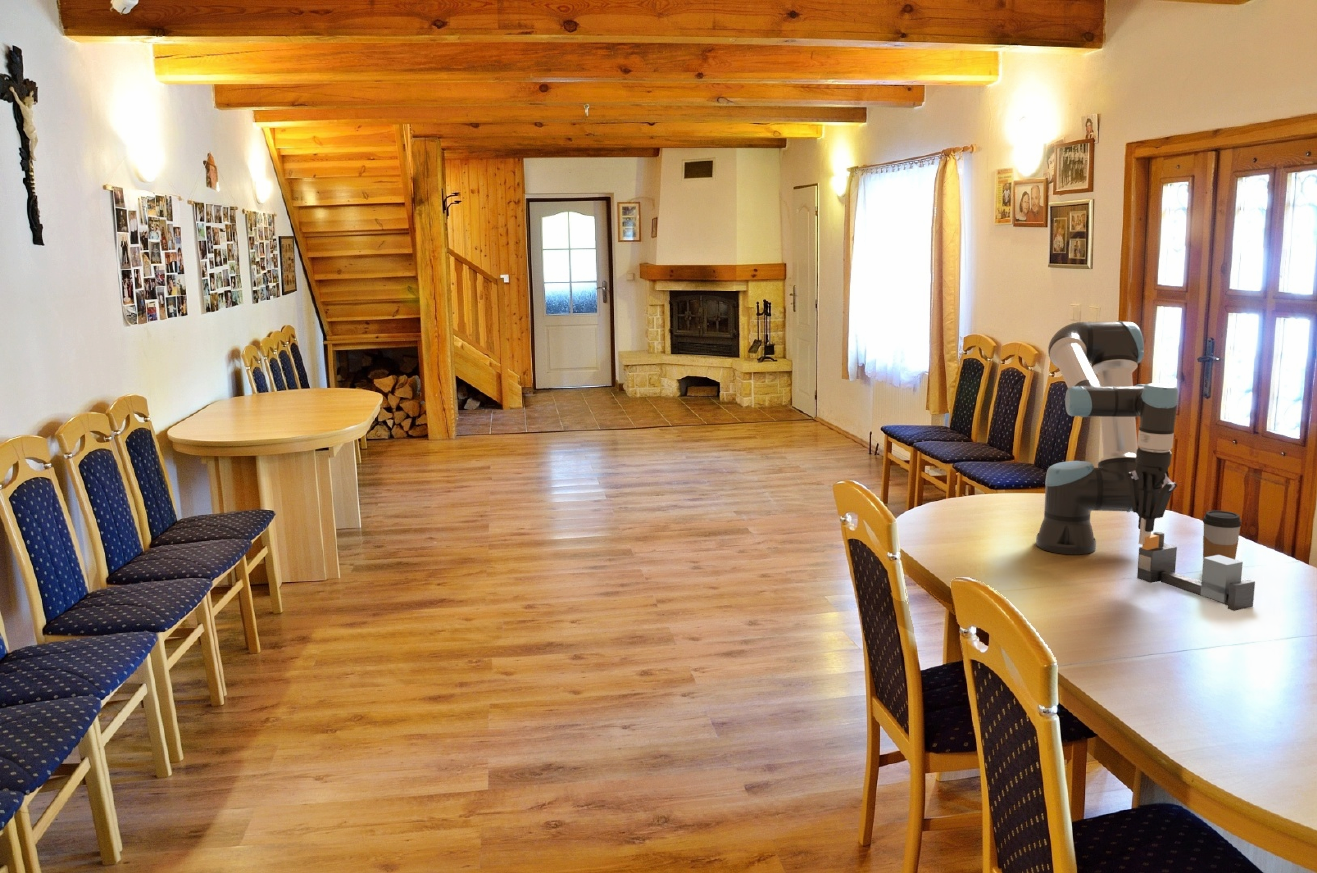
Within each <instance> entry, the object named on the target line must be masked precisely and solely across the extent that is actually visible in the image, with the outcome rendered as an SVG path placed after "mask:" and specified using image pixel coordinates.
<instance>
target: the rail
mask: <svg viewBox="0 0 1317 873" xmlns="http://www.w3.org/2000/svg"><path fill="white" fill-rule="evenodd" d="M1201 582H1202V580H1201V581H1200V580H1197V579H1194V578H1190V577H1188V576H1185V575H1182V574H1179V573H1176V572H1175V573H1174V572H1171V571H1165V572H1161V581H1160V583H1162V584H1164V585H1168V586H1171V587H1173V588H1177V589H1179V590H1182V591H1185V592H1189V593H1190V594H1194V595H1197V596H1199V597H1202V598H1205V599H1209V600H1211V601H1214V602H1217V603H1219V604H1222V605H1225V606H1228V598H1229V594H1227V597H1226V603H1222V602H1219V601H1217V600H1214V599H1211V598H1208V597H1205V596H1202V595H1201Z"/></svg>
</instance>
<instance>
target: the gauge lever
mask: <svg viewBox="0 0 1317 873" xmlns="http://www.w3.org/2000/svg"><path fill="white" fill-rule="evenodd" d="M1164 543H1165V533H1164V532H1161V531H1155V532H1153V534H1152V533H1151V536H1150V537H1145V544H1142V546H1141V547H1142V549H1145V550H1150V549H1154V548H1158V547H1164Z"/></svg>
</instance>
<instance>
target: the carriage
mask: <svg viewBox="0 0 1317 873" xmlns="http://www.w3.org/2000/svg"><path fill="white" fill-rule="evenodd" d="M1201 573H1202V574H1201V595H1202V596H1205V597H1208V598H1211V599H1214V600H1217V601H1219V602H1222V603H1226V597H1227V594H1229V586H1230V583H1234V582H1238V581H1242V576H1243V574H1242V573H1243V561H1242V560H1237V559H1236V558H1235V559H1232V558H1228V557H1225V556H1222V555H1215V556H1210V557H1205V558H1203V557H1202V571H1201ZM1202 596H1201V597H1202ZM1205 597H1204V598H1205ZM1208 598H1207V599H1208ZM1211 599H1210V600H1211ZM1219 602H1218V603H1219ZM1222 603H1221V604H1222Z"/></svg>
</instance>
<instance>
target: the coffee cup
mask: <svg viewBox="0 0 1317 873" xmlns="http://www.w3.org/2000/svg"><path fill="white" fill-rule="evenodd" d="M1202 523H1203V535H1202V536H1203V538H1202V549H1203V550H1202V551H1203V552H1202V559H1203V558H1205V557H1210V556H1215V555H1222V556H1225V557H1228V558H1232V559H1235V560H1236V557H1237V551H1238V547H1239V546H1238V545H1239V539H1240V538H1239V536H1240V529H1241V527H1242V520H1241V518H1240V514H1238V513H1236V512H1232V511H1225V510H1207V511H1206V512H1205V514H1204V516H1203V520H1202Z"/></svg>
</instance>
